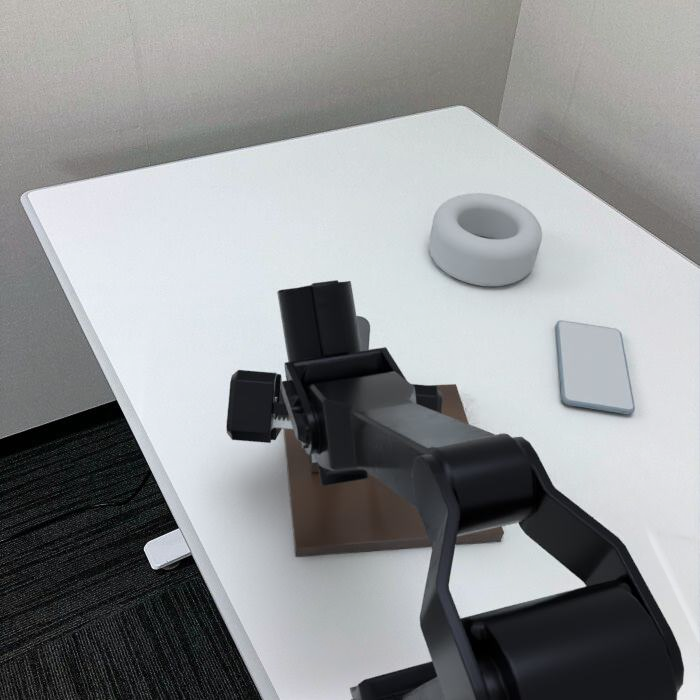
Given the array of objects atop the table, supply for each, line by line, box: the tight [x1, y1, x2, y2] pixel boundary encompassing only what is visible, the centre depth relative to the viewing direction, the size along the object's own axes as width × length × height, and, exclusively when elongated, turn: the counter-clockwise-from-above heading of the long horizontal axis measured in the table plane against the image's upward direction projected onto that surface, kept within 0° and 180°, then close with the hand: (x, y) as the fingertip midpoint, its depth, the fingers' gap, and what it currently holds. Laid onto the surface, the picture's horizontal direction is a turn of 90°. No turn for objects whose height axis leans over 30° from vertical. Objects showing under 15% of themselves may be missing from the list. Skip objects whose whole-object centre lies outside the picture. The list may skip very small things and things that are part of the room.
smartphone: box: [555, 320, 636, 415], centre depth 94 cm, size 8×1×15 cm
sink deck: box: [282, 383, 505, 558], centre depth 80 cm, size 20×20×2 cm
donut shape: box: [428, 192, 543, 287], centre depth 107 cm, size 15×15×7 cm
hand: (334, 408), depth 77 cm, fingers open, 9 cm apart
